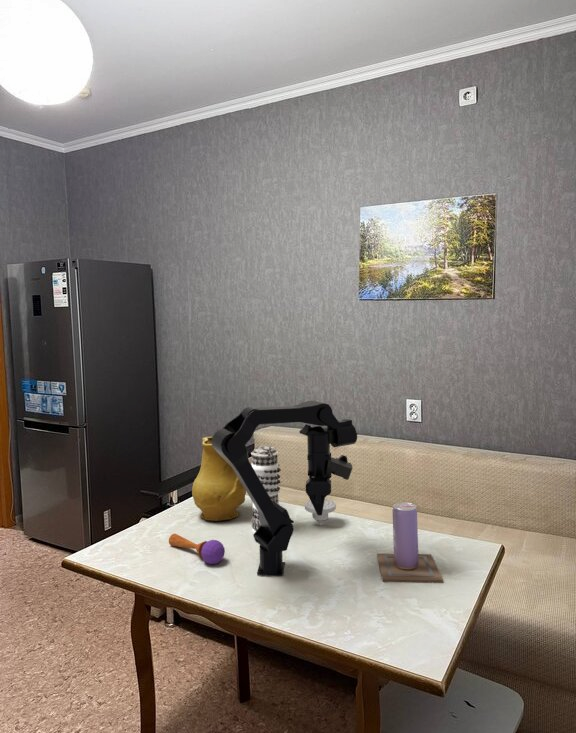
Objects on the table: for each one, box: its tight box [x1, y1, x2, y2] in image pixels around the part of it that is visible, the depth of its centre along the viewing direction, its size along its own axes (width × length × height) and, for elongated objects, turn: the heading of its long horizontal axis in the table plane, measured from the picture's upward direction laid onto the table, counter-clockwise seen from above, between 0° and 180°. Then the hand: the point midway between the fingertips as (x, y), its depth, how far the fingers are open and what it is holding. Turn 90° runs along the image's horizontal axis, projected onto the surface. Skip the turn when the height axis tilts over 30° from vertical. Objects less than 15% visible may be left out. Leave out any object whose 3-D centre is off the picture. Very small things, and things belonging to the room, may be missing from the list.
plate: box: [376, 552, 444, 584], centre depth 133 cm, size 14×14×1 cm
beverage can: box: [392, 502, 419, 570], centre depth 133 cm, size 6×6×15 cm
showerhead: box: [304, 498, 337, 526], centre depth 162 cm, size 9×7×10 cm
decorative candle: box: [250, 445, 281, 534], centre depth 157 cm, size 9×9×25 cm
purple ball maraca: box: [168, 533, 226, 565], centre depth 143 cm, size 6×6×20 cm
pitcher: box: [191, 436, 247, 522], centre depth 169 cm, size 17×19×25 cm
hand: (320, 508), depth 139 cm, fingers open, 9 cm apart
